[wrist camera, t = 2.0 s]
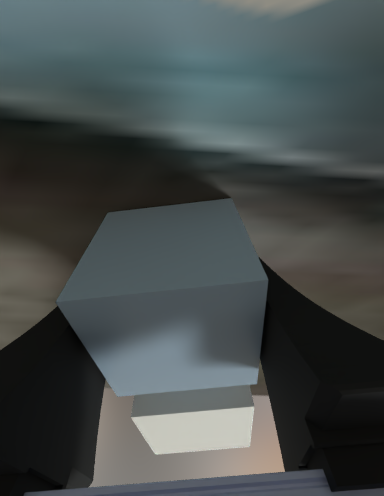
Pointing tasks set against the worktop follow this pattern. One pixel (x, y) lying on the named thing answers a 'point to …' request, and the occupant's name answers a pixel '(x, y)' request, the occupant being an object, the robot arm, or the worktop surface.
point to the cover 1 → (170, 299)
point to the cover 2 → (195, 419)
